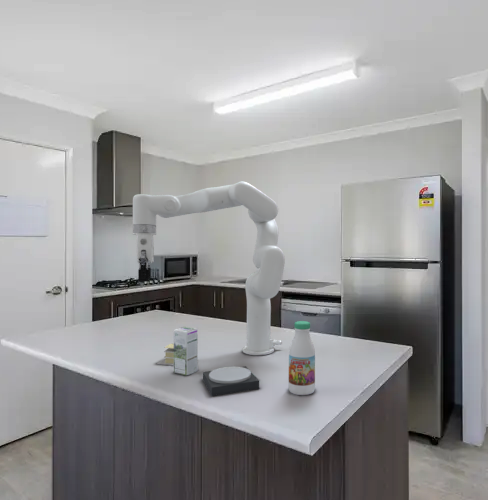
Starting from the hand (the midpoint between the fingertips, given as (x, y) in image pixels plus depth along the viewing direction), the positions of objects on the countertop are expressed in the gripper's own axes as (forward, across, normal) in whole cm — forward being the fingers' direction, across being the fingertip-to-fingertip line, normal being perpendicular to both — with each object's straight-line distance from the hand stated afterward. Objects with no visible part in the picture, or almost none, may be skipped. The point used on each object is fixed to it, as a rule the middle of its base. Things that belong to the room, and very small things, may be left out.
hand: (144, 279), depth 127 cm
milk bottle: (+30, -36, -45) cm, 65 cm away
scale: (+30, -25, -26) cm, 47 cm away
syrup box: (+30, -10, -13) cm, 35 cm away
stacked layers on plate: (+30, +3, -10) cm, 32 cm away
